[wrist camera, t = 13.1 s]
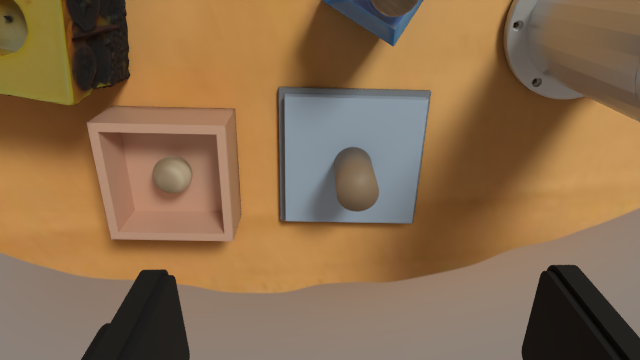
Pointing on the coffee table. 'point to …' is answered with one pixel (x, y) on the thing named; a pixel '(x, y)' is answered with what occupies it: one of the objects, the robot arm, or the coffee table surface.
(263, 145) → the coffee table surface
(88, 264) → the coffee table surface
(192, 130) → the dish
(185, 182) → the ball
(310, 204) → the lid
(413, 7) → the perfume bottle
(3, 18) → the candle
